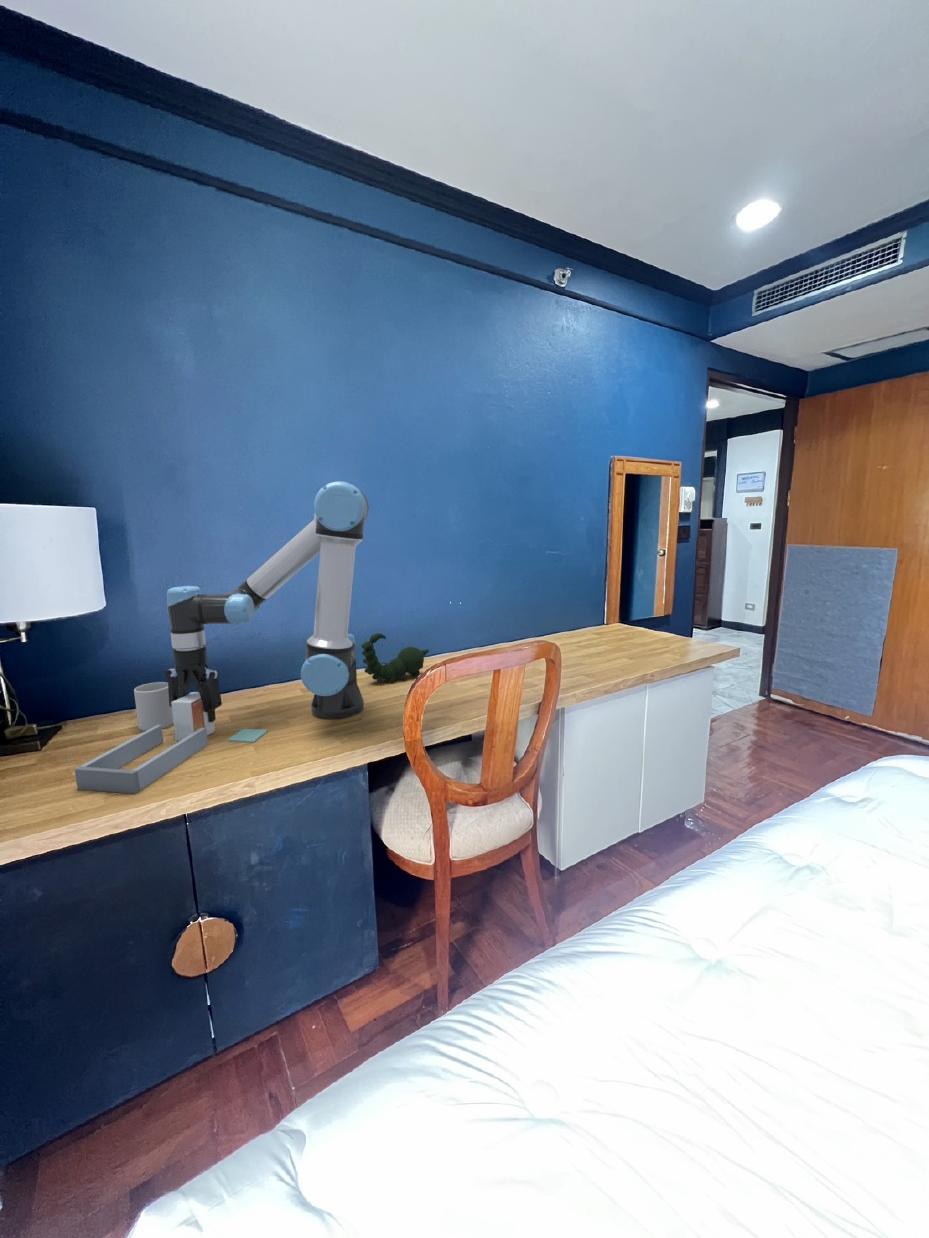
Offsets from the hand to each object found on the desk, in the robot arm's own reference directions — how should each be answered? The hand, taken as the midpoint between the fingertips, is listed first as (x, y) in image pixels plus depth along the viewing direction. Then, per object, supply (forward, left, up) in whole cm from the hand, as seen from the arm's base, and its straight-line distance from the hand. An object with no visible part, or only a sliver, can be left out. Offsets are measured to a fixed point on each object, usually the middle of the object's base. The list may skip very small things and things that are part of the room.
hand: (198, 732), depth 131 cm
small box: (0, +1, -1) cm, 1 cm away
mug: (+14, -5, -1) cm, 15 cm away
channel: (0, +17, 0) cm, 17 cm away
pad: (-14, 0, 0) cm, 14 cm away
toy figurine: (-40, -52, -1) cm, 66 cm away
